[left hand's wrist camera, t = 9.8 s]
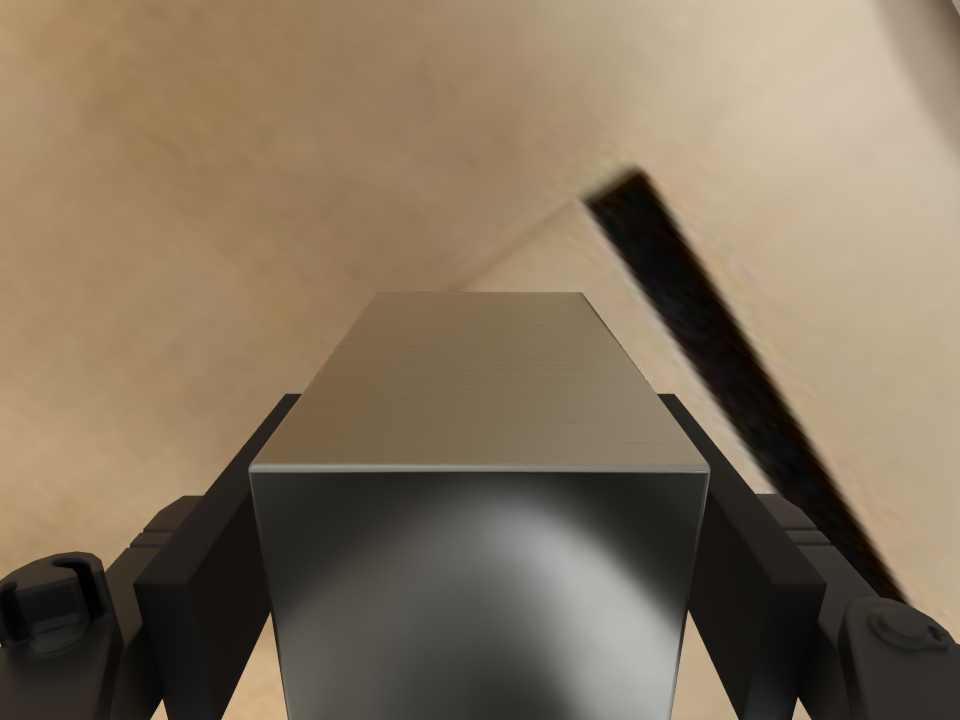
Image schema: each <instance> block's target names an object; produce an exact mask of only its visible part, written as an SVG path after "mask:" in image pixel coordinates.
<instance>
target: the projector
mask: <svg viewBox="0 0 960 720" xmlns="http://www.w3.org/2000/svg"><path fill="white" fill-rule="evenodd" d="M952 2H953V4H954V6H955V8H956V10H957V12H958V13H959V15H960V0H952Z"/></svg>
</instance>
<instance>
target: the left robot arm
mask: <svg viewBox="0 0 960 720" xmlns="http://www.w3.org/2000/svg"><path fill="white" fill-rule="evenodd" d="M301 395H302V394H285V395H284V397H283V398H282V399H281V400H280V402H279V403H278V404H277V405H276V407H275V408H274V409H273V410H272V412H271V413H270V414H269V415H268V417H267V418H266V419H265V420H264V421H263V423H262V424H261V425H260V426H259V428H258V429H257V430H256V431H255V433H254V434H253V435H252V436H251V438H250V439H249V440H248V441H247V443H246V444H245V445H244V446H243V447H242V449H241V450H240V451H239V452H238V454H237V455H236V456H235V457H234V459H233V460H232V461H231V462H230V464H229V465H228V466H227V467H226V469H225V470H224V471H223V472H222V473H221V475H220V476H219V477H218V478H217V480H216V481H215V482H214V483H213V485H212V486H211V487H210V488H209V490H208V491H207V492H206V493H205V495H204V496H183V497H181V498H179V499H178V500H176V501H175V502H173V503H172V504H170V505H168V506H167V507H165V508H164V509H162V510H161V511H159V512H158V513H157V515H156V516H155V517H154V518H153V519H152V520H151V521H150V522H149V524H148V525H147V526H146V527H145V528H144V531H143V533H140V534H139V535H138V536H137V537H136V538H135V539H134V540H133V541H132V543H131V544H130V548H126V549H125V550H124V551H123V553H122V554H121V555H120V556H119V557H118V558H117V559H116V560H115V562H114V563H113V564H112V565H111V566H110V567H109V568H108V569H107V570H106V572H104V569H103V565H102V562H101V560H100V559H99V558H98V557H96V556H95V555H93V554H92V553H84V552H77V551H76V552H69V553H61V554H55V555H52V556H49V557H45V558H42V559H39V560H36V561H33V562H31V563H29V564H27V565H25V566H23V567H21V568H19V569H17V570H15V571H13V572H11V573H10V574H9V575H7V576H6V577H5V578H3V579H2V580H1V581H0V644H1V647H0V720H150V719H151V718H152V716H153V714H154V712H155V711H156V709H157V707H158V706H159V704H160V702H161V700H162V699H163V702H164V705H165V709H166V713H167V717H168V720H221V719H222V717H223V715H224V712H225V710H226V708H227V706H228V704H229V701H230V699H231V697H232V695H233V693H234V691H235V688H236V686H237V684H238V682H239V680H240V677H241V675H242V673H243V671H244V669H245V666H246V664H247V662H248V660H249V658H250V656H251V653H252V651H253V649H254V647H255V645H256V642H257V640H258V638H259V636H260V634H261V631H262V629H263V627H264V625H265V623H266V621H267V618H268V616H269V614H270V612H271V609H270V603H269V597H268V590H267V584H266V578H265V572H264V565H263V559H262V553H261V546H260V540H259V534H258V527H257V521H256V515H255V509H254V502H253V496H252V490H251V483H250V477H249V466H250V464H251V462H252V461H253V460H254V458H255V457H256V456H257V454H258V453H259V452H260V450H261V449H262V448H263V446H264V445H265V444H266V442H267V441H268V439H269V438H270V437H271V435H272V434H273V433H274V431H275V430H276V429H277V427H278V426H279V425H280V423H281V422H282V421H283V419H284V418H285V416H286V415H287V414H288V412H289V411H290V410H291V408H292V407H293V406H294V404H295V403H296V402H297V400H298V399H299V398H300V396H301ZM657 395H658V396H659V398H660V399H661V401H662V402H663V403H664V405H665V406H666V407H667V409H668V410H669V411H670V413H671V414H672V415H673V417H674V418H675V420H676V421H677V422H678V424H679V425H680V426H681V428H682V429H683V430H684V432H685V433H686V434H687V436H688V437H689V439H690V440H691V441H692V443H693V444H694V445H695V447H696V448H697V449H698V451H699V452H700V453H701V455H702V456H703V458H704V459H705V460H706V462H707V463H708V464H709V467H710V477H709V484H708V490H707V496H706V502H705V508H704V514H703V521H702V527H701V533H700V539H699V545H698V552H697V558H696V564H695V570H694V576H693V582H692V589H691V595H690V601H689V607H688V610H689V612H690V614H691V616H692V618H693V621H694V623H695V625H696V627H697V629H698V631H699V634H700V636H701V638H702V640H703V642H704V645H705V647H706V649H707V651H708V653H709V656H710V658H711V660H712V662H713V664H714V666H715V669H716V671H717V673H718V675H719V677H720V680H721V682H722V684H723V686H724V688H725V691H726V693H727V695H728V697H729V699H730V702H731V704H732V706H733V708H734V710H735V712H736V715H737V717H738V719H739V720H792V717H793V713H794V709H795V705H796V702H797V698H799V699H800V701H801V703H802V704H803V706H804V708H805V709H806V711H807V713H808V715H809V716H810V718H811V720H960V644H956V642H955V641H954V640H953V638H952V637H951V635H950V634H949V632H948V631H946V630H945V629H944V628H943V627H942V626H940V625H939V624H938V623H937V622H936V621H935V620H933V619H932V618H931V617H929V616H927V615H925V614H924V613H922V612H920V611H918V610H916V609H915V608H913V607H911V606H908V605H906V604H903V603H900V602H897V601H894V600H891V599H887V598H880V597H879V596H878V594H877V593H876V592H875V591H874V590H873V589H872V588H871V587H870V586H869V584H868V583H867V582H866V581H865V580H864V579H863V578H862V577H861V576H860V574H859V573H858V572H857V571H856V570H855V569H854V568H853V567H852V566H851V564H850V563H849V562H848V561H847V560H846V559H845V558H844V557H843V556H842V554H841V553H840V552H839V551H838V550H837V549H836V548H835V547H834V546H831V544H830V541H829V540H828V539H827V538H826V537H825V536H824V534H823V533H822V532H821V531H817V527H816V526H815V524H814V523H813V522H812V521H811V520H810V519H809V518H808V517H807V516H806V515H805V513H804V512H803V511H802V510H801V509H800V508H798V507H796V506H795V505H793V504H792V503H790V502H789V501H787V500H785V499H784V498H782V497H781V496H779V495H777V494H755V493H754V492H753V491H752V490H751V488H750V487H749V486H748V485H747V483H746V482H745V481H744V480H743V478H742V477H741V476H740V475H739V473H738V472H737V471H736V470H735V469H734V467H733V466H732V465H731V464H730V462H729V461H728V460H727V459H726V457H725V456H724V455H723V454H722V452H721V451H720V450H719V449H718V447H717V446H716V445H715V444H714V443H713V441H712V440H711V439H710V438H709V436H708V435H707V434H706V433H705V431H704V430H703V429H702V428H701V426H700V425H699V424H698V423H697V421H696V420H695V419H694V418H693V417H692V415H691V414H690V413H689V412H688V410H687V409H686V408H685V407H684V405H683V404H682V403H681V402H680V400H679V399H678V398H677V397H676V395H675V394H657Z"/></svg>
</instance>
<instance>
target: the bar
mask: <svg viewBox="0 0 960 720" xmlns="http://www.w3.org/2000/svg"><path fill="white" fill-rule="evenodd" d="M249 477H250V483H251V490H252V496H253V502H254V509H255V515H256V521H257V527H258V534H259V540H260V546H261V553H262V559H263V565H264V572H265V578H266V584H267V590H268V597H269V603H270V609H271V616H272V622H273V628H274V634H275V641H276V647H277V653H278V660H279V666H280V672H281V678H282V685H283V691H284V697H285V704H286V710H287V716H288V720H670V718H671V712H672V706H673V700H674V693H675V687H676V681H677V675H678V669H679V663H680V656H681V650H682V644H683V638H684V632H685V626H686V619H687V613H688V607H689V601H690V595H691V589H692V582H693V576H694V570H695V564H696V558H697V552H698V545H699V539H700V533H701V527H702V521H703V514H704V508H705V502H706V496H707V490H708V484H709V477H710V467H709V464H708V463H707V462H706V460H705V459H704V458H703V456H702V455H701V453H700V452H699V451H698V449H697V448H696V447H695V445H694V444H693V443H692V441H691V440H690V439H689V437H688V436H687V434H686V433H685V432H684V430H683V429H682V428H681V426H680V425H679V424H678V422H677V421H676V420H675V418H674V417H673V415H672V414H671V413H670V411H669V410H668V409H667V407H666V406H665V405H664V403H663V402H662V401H661V399H660V398H659V396H658V395H657V394H656V392H655V391H654V390H653V388H652V387H651V386H650V384H649V383H648V382H647V380H646V379H645V377H644V376H643V375H642V373H641V372H640V371H639V369H638V368H637V367H636V365H635V364H634V363H633V361H632V360H631V359H630V357H629V356H628V354H627V353H626V352H625V350H624V349H623V348H622V346H621V345H620V344H619V342H618V341H617V340H616V338H615V337H614V335H613V334H612V333H611V331H610V330H609V329H608V327H607V326H606V325H605V323H604V322H603V321H602V319H601V318H600V316H599V315H598V314H597V312H596V311H595V310H594V308H593V307H592V306H591V304H590V303H589V302H588V300H587V299H586V297H585V296H584V295H583V293H580V292H378V293H376V295H375V296H374V297H373V299H372V300H371V302H370V303H369V304H368V306H367V307H366V308H365V310H364V311H363V312H362V314H361V315H360V316H359V318H358V319H357V320H356V322H355V323H354V324H353V326H352V327H351V329H350V330H349V331H348V333H347V334H346V335H345V337H344V338H343V339H342V341H341V342H340V343H339V345H338V346H337V347H336V349H335V350H334V352H333V353H332V354H331V356H330V357H329V358H328V360H327V361H326V362H325V364H324V365H323V366H322V368H321V369H320V370H319V372H318V373H317V375H316V376H315V377H314V379H313V380H312V381H311V383H310V384H309V385H308V387H307V388H306V389H305V391H304V392H303V393H302V395H301V396H300V398H299V399H298V400H297V402H296V403H295V404H294V406H293V407H292V408H291V410H290V411H289V412H288V414H287V415H286V416H285V418H284V419H283V421H282V422H281V423H280V425H279V426H278V427H277V429H276V430H275V431H274V433H273V434H272V435H271V437H270V438H269V439H268V441H267V442H266V444H265V445H264V446H263V448H262V449H261V450H260V452H259V453H258V454H257V456H256V457H255V458H254V460H253V461H252V462H251V464H250V466H249Z"/></svg>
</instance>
